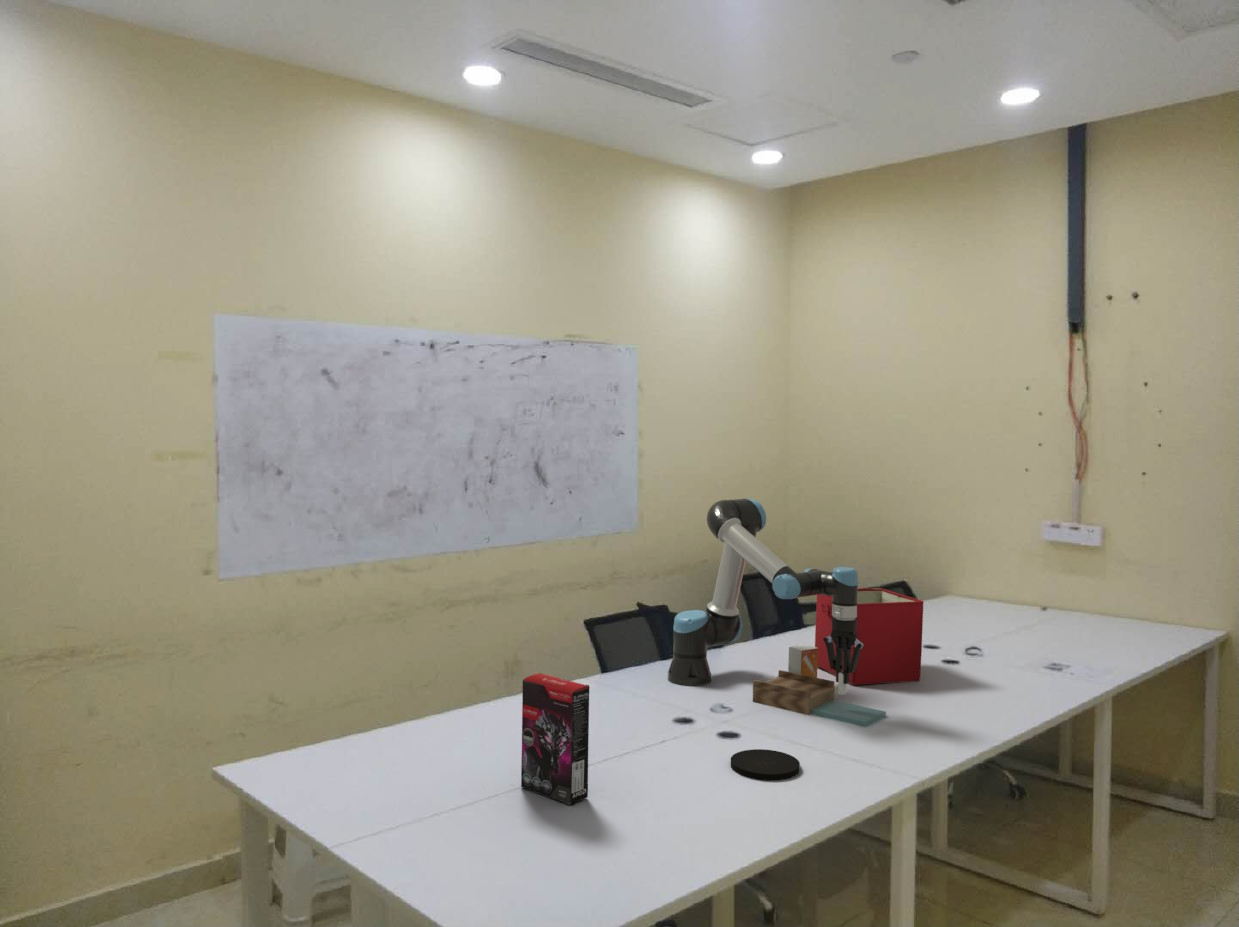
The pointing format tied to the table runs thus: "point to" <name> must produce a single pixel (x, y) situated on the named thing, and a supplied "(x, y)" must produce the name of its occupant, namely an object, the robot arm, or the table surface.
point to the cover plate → (848, 713)
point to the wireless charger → (765, 765)
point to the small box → (803, 660)
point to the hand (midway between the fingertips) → (842, 693)
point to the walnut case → (793, 692)
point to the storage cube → (878, 636)
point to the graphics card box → (555, 737)
